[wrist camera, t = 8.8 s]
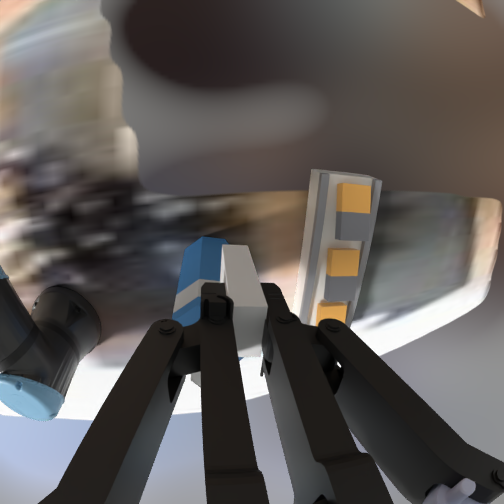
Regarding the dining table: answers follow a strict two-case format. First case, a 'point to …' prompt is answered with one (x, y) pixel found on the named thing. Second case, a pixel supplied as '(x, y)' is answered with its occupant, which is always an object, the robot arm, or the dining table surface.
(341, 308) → the rocker
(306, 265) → the power strip
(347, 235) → the rocker
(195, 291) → the water bottle
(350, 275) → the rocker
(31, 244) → the dining table surface
